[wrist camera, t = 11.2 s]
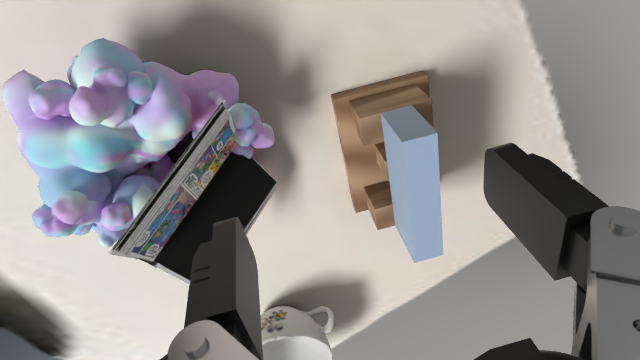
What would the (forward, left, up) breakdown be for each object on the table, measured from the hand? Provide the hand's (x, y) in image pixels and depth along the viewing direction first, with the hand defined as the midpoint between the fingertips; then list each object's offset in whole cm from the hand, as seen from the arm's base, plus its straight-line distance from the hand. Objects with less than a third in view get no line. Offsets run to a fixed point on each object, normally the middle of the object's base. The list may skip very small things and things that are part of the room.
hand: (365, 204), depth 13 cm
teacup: (+40, -10, -30) cm, 51 cm away
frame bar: (+16, +8, -24) cm, 30 cm away
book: (+8, -14, -30) cm, 34 cm away
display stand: (+16, +8, -30) cm, 35 cm away
